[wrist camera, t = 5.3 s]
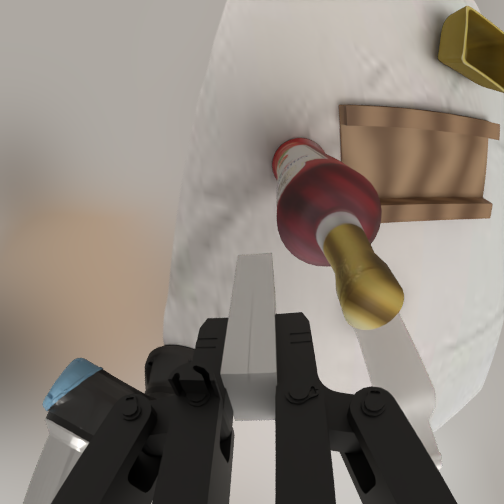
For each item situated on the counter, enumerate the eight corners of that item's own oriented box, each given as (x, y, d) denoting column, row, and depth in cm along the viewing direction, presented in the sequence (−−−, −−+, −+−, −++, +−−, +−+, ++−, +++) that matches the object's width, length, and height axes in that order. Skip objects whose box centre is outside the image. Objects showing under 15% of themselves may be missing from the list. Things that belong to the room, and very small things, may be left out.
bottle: (369, 284, 44) (439, 458, 18) (401, 301, 45) (471, 453, 19) (341, 319, 47) (381, 489, 21) (373, 332, 49) (420, 483, 23)
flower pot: (470, 91, 28) (509, 95, 20) (424, 65, 28) (462, 61, 20) (475, 43, 24) (513, 40, 16) (431, 16, 23) (466, 3, 16)
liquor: (306, 201, 38) (369, 379, 13) (259, 171, 36) (250, 328, 12) (338, 156, 35) (474, 279, 10) (291, 124, 33) (370, 180, 9)
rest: (341, 215, 39) (347, 225, 36) (338, 104, 32) (346, 104, 29) (478, 210, 37) (489, 218, 34) (486, 120, 30) (499, 123, 27)
